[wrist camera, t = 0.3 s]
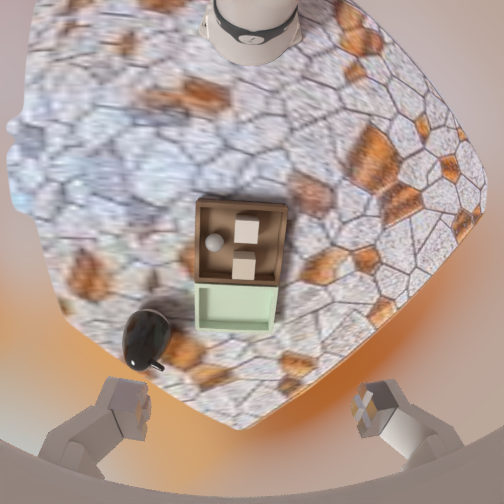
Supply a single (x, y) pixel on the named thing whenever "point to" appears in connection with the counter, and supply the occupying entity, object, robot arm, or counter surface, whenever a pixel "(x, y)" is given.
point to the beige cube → (243, 265)
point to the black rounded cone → (146, 339)
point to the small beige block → (246, 229)
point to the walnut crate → (223, 223)
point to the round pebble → (214, 242)
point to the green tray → (235, 307)
